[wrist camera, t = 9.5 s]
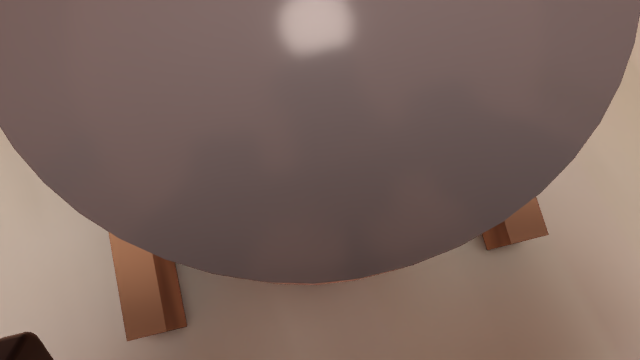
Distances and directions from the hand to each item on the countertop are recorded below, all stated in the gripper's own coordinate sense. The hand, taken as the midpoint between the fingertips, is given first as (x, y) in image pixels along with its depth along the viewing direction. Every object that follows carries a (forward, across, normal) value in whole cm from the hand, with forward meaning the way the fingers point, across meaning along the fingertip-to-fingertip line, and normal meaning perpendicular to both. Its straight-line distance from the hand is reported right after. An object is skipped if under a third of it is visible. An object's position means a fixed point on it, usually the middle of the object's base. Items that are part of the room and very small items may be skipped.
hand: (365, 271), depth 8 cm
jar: (+11, 0, +6) cm, 12 cm away
